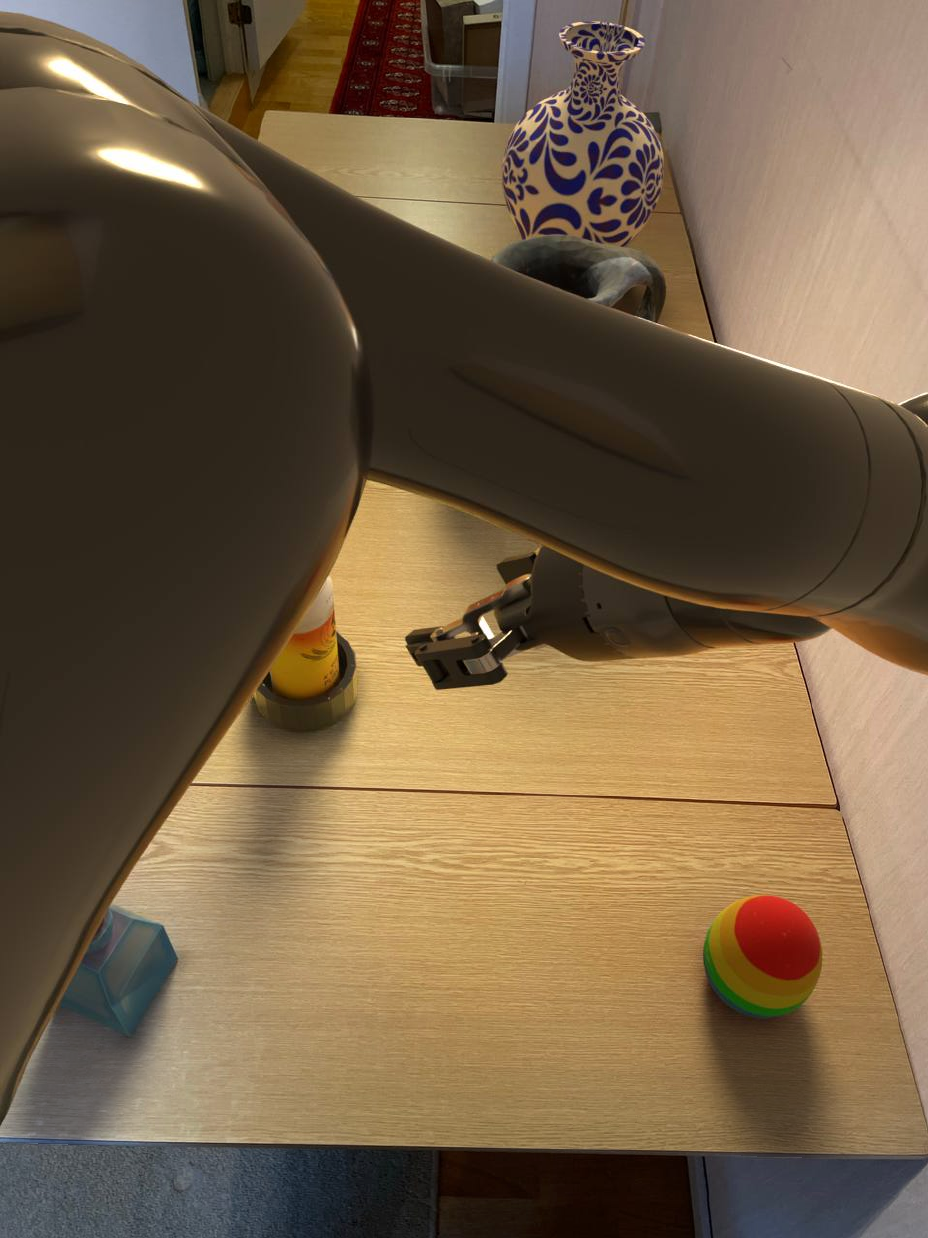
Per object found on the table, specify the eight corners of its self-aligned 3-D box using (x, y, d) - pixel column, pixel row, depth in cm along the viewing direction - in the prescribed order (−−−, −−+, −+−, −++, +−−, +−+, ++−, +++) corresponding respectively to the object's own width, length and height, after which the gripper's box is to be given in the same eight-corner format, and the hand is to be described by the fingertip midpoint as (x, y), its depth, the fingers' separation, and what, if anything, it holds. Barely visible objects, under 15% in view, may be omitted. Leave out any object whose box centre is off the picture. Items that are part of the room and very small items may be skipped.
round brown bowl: (361, 727, 88) (360, 701, 85) (255, 737, 87) (250, 712, 84) (353, 646, 94) (351, 619, 91) (253, 654, 93) (248, 627, 90)
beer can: (342, 712, 88) (334, 603, 77) (274, 719, 87) (255, 609, 76) (337, 659, 92) (329, 547, 81) (272, 666, 91) (254, 553, 80)
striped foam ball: (681, 1002, 74) (713, 951, 66) (708, 908, 79) (741, 850, 71) (788, 1050, 72) (834, 1002, 64) (809, 950, 77) (854, 895, 69)
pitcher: (436, 399, 119) (443, 200, 100) (610, 397, 122) (650, 201, 103) (449, 516, 106) (461, 313, 87) (645, 511, 108) (698, 312, 89)
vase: (613, 324, 132) (659, 88, 109) (469, 280, 137) (484, 46, 114) (662, 252, 145) (712, 28, 122) (528, 214, 150) (552, -7, 127)
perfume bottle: (57, 1003, 71) (7, 938, 62) (107, 927, 75) (67, 855, 66) (130, 1037, 70) (90, 976, 61) (178, 958, 74) (147, 889, 65)
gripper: (689, 451, 52) (505, 505, 65) (516, 595, 44) (349, 623, 58) (748, 572, 54) (558, 600, 67) (591, 729, 46) (413, 725, 60)
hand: (461, 610), depth 62 cm, fingers open, 8 cm apart
